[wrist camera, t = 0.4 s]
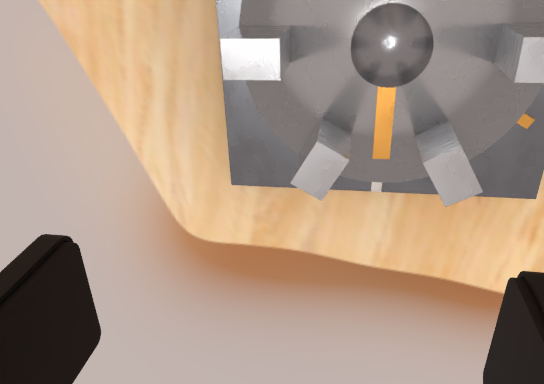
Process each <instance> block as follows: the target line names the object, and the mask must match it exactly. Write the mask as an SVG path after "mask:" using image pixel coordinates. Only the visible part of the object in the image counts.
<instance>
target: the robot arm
mask: <svg viewBox="0 0 544 384" xmlns="http://www.w3.org/2000/svg"><path fill="white" fill-rule="evenodd" d="M100 336H101V329H100V324H99V321H98V317H97V313H96V309H95V306H94V302H93V298H92V294H91V290H90V286H89V283H88V279H87V275H86V271H85V268H84V264H83V260H82V256H81V252H80V248H79V246H78V245H77V244H76V243H73V241H72V239H71V238H70V237H68V236H62V235H49V234H44V235H41V236H40V237H38V238H37V239H36V240H35V241H34V242H33V243H32V244H30V245H29V246H28V247H27V248H26V249H25V250H24V251H23V252H22V253H21V254H20V255H18V256H17V257H16V258H15V259H14V260H13V261H12V262H11V263H10V264H9V265H8V266H7V267H6V268H4V269H3V270H2V271H1V272H0V384H72V383H73V382H74V380H75V379H76V377H77V376H78V374H79V373H80V371H81V369H82V368H83V366H84V365H85V363H86V362H87V360H88V358H89V357H90V355H91V354H92V353H93V351H94V350H95V348H96V346H97V345H98V343H99V340H100ZM483 384H544V273H541V272H528V271H522V272H520V274H519V275H518V277H517V278H510V279H509V280H508V283H507V286H506V290H505V294H504V297H503V301H502V305H501V309H500V312H499V316H498V320H497V324H496V327H495V331H494V334H493V338H492V342H491V346H490V349H489V353H488V357H487V360H486V364H485V368H484V372H483Z"/></svg>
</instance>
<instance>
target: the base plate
mask: <svg viewBox="0 0 544 384" xmlns="http://www.w3.org/2000/svg"><path fill="white" fill-rule="evenodd" d="M241 2H242V0H216V8H217V19H218V31H219V43H220V38H222V37H223V36H225V35H226V34H227V33H229V32H230V31H231V30H233V29H234V28H236V27H237V26H239V18H240V10H241ZM220 55H221V45H220ZM221 66H222V56H221ZM222 78H223V68H222ZM223 90H224V102H225V113H226V125H227V137H228V148H229V160H230V172H231V184H232V185H247V186H268V187H290V188H298V187H296V186H294V185H292V184H290V182H291V178H292V175H293V171H294V168H295V164H296V161H297V157H298V154H296V153H295V152H294V151H293V150H292V149H291V148H289V147H288V146H287V145H286V144H285V143H283V141H282V140H281V139H280V138H279V137H278V136H277V135H276V134H275V133H274V132H273V131H272V129H271V128H270V127H269V125H268V124H267V123H266V121H265V120H264V118H263V117H262V116H261V114H260V112H259V110H258V108H257V106H256V105H255V103H254V101H253V99H252V96H251V94H250V91H249V89H248V86H247V84H246V80H223ZM469 163H470V165H471V168H472V170H473V172H474V174H475V176H476V178H477V180H478V182H479V184H480V186H481V189H482V191H483V192H482V193H479V194H477V195H474V196H483V197H505V198H526V199H536V196H537V193H538V189H539V185H540V182H541V178H542V174H543V170H544V84H543V86H542V88H541V89H540V91H539V92H538V94H537V96H536V97H535V99H534V101H533V102H532V104H531V105H530V106H529V108H528V109H527V110H526V111H525V113H524V114H523V115H522V117H521V118H520V119H519V120H518V122H517V123H516V124H515V125H514V126H513V127H512V128H511V129H510V130H509V131H508V132H507V133H506V134H505V135H504V136H503V137H501V138H500V139H499V140H498V141H496V142H495V143H494V144H493V145H491V146H490V147H489V148H488V149H486V150H485V151H483V152H482V153H480V154H478V155H477V156H475V157H474V158H472V159H471V160H469ZM330 189H333V190H354V191H374V192H397V193H419V194H438V192H437V190H436V188H435V186H434V184H433V182H432V180H431V178H430V176H429V177H425V178H421V179H417V180H411V181H403V182H369V181H360V180H356V179H351V178H347V177H343V176H340V175H339V176H338V178H337V179H336V181H335V182H334V183H333V185H332V186H331V188H330Z"/></svg>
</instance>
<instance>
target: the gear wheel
mask: <svg viewBox="0 0 544 384" xmlns="http://www.w3.org/2000/svg"><path fill="white" fill-rule="evenodd" d="M220 45H221V56H222V68H223V80H246V84H247V86H248V89H249V91H250V94H251V96H252V99H253V101H254V103H255V105H256V106H257V108H258V110H259V112H260V114H261V116H262V117H263V118H264V120H265V121H266V123H267V124H268V125H269V127H270V128H271V129H272V131H273V132H274V133H275V134H276V135H277V136H278V137H279V138H280V139H281V140H282V141H283V143H285V144H286V145H287V146H288V147H289V148H291V149H292V150H293V151H294V152H295V153H296V154H298V157H297V161H296V164H295V168H294V171H293V175H292V178H291V182H290V184H292V185H294V186H296V187H298V188H299V189H301V190H303V191H305V192H307V193H308V194H310V195H312V196H314V197H316V198H317V199H319V200H322V199H323V198H324V196H325V195H326V193H327V192H328V191H329V189H330V188H331V186H332V185H333V183H334V182H335V181H336V179H337V178H338V176H339V175H340V176H343V177H347V178H351V179H356V180H360V181H369V182H403V181H411V180H417V179H421V178H425V177H429V176H430V178H431V180H432V182H433V184H434V186H435V188H436V190H437V192H438V194H439V196H440V198H441V199H442V201H443V203H444V205H445V207H447V206H449V205H452V204H454V203H457V202H459V201H462V200H464V199H467V198H469V197H472V196H474V195H477V194H479V193H482V192H483V191H482V189H481V186H480V184H479V182H478V180H477V178H476V176H475V174H474V172H473V170H472V168H471V165H470V163H469V160H471V159H472V158H474V157H475V156H477V155H478V154H480V153H482V152H483V151H485V150H486V149H488V148H489V147H490V146H491V145H493V144H494V143H495V142H496V141H498V140H499V139H500V138H501V137H503V136H504V135H505V134H506V133H507V132H508V131H509V130H510V129H511V128H512V127H513V126H514V125H515V124H516V123H517V122H518V120H519V119H520V118H521V117H522V115H523V114H524V113H525V111H526V110H527V109H528V108H529V106H530V105H531V104H532V102H533V101H534V99H535V97H536V96H537V94H538V92H539V91H540V89H541V88H542V86H543V84H544V0H242V2H241V10H240V18H239V26H237V27H236V28H234V29H233V30H231V31H230V32H229V33H227V34H226V35H225V36H223V37H222V38H220Z"/></svg>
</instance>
